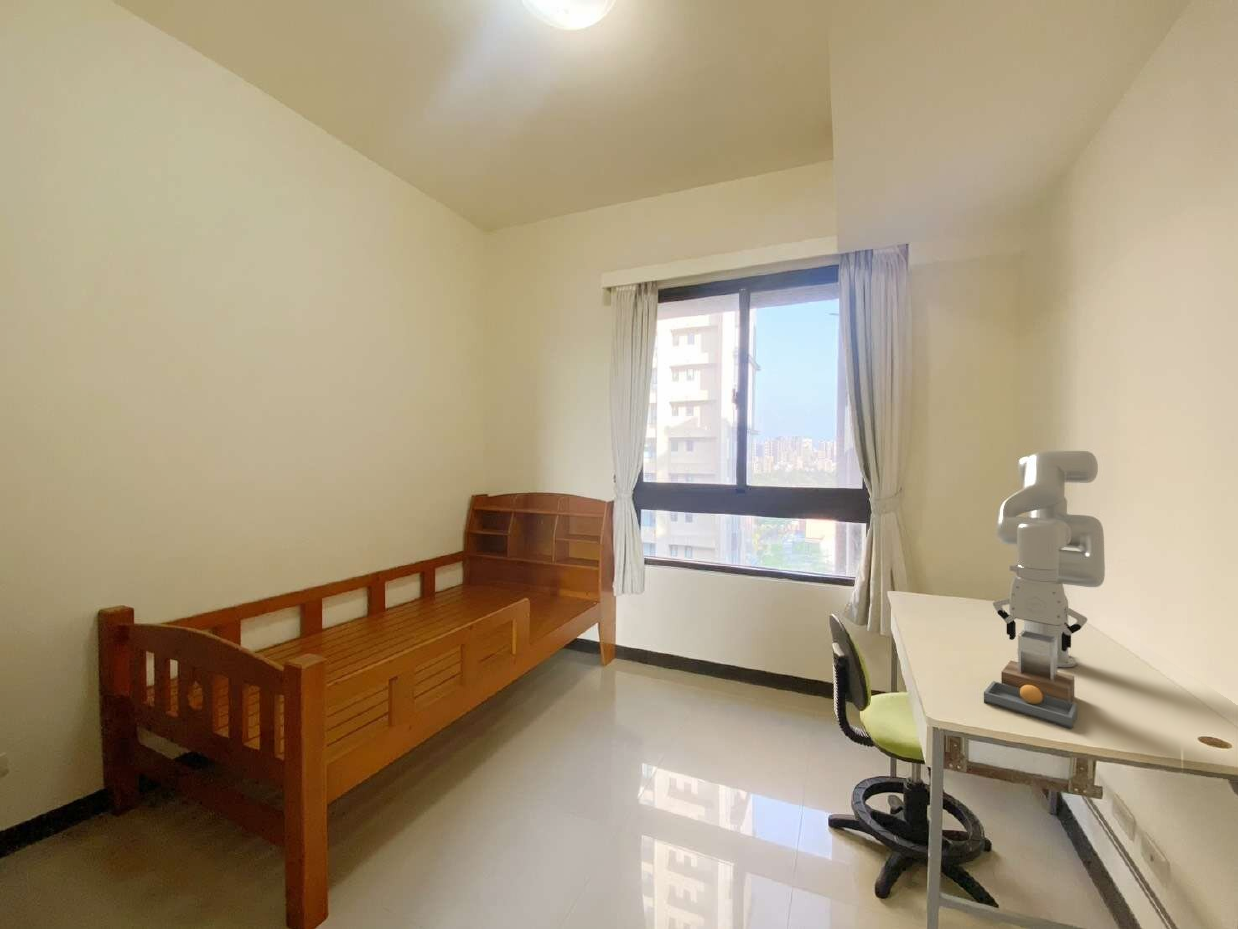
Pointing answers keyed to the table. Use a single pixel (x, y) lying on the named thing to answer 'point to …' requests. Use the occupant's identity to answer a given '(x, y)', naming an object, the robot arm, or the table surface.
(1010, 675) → the stand
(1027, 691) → the ball
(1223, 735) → the table surface
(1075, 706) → the tray
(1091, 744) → the table surface
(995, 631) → the table surface
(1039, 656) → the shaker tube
